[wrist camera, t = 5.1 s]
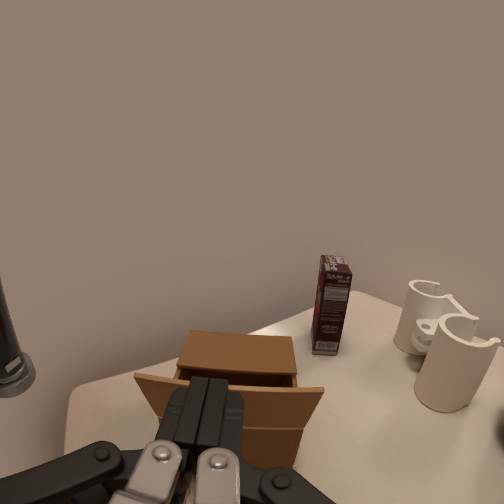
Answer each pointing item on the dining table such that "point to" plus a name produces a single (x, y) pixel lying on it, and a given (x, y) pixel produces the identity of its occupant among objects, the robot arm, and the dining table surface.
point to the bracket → (443, 347)
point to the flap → (245, 401)
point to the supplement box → (330, 304)
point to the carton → (247, 383)
